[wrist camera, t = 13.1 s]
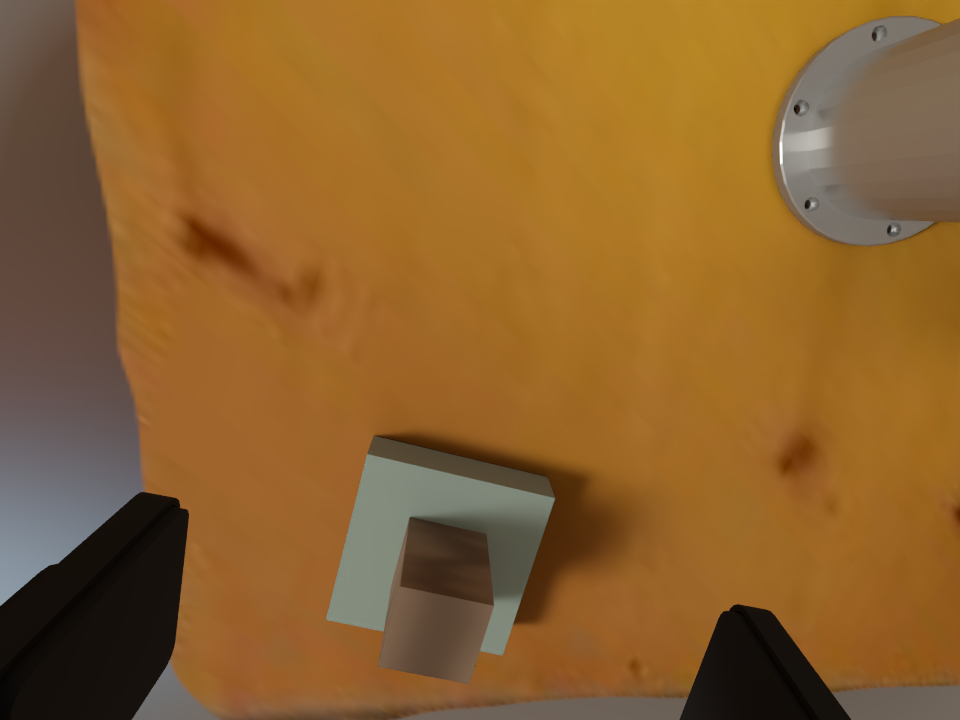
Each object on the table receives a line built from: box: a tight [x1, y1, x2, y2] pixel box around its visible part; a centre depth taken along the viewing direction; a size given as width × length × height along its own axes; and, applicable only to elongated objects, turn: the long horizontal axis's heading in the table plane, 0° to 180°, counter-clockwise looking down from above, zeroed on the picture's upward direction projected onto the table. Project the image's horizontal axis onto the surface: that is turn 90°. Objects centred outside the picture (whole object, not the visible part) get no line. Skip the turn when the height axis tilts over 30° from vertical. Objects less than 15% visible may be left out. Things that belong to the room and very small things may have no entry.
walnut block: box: [378, 517, 494, 684], centre depth 34 cm, size 5×5×7 cm
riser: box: [326, 436, 555, 655], centre depth 39 cm, size 12×12×3 cm
